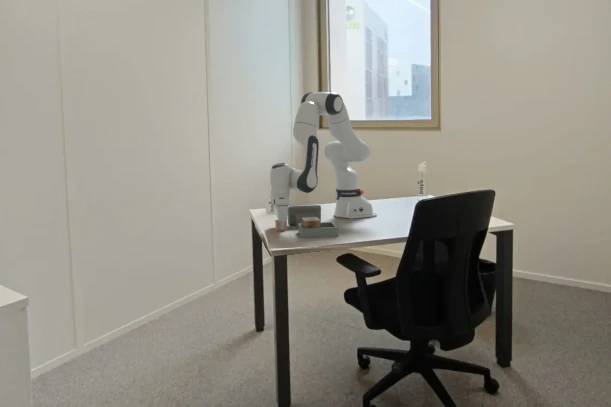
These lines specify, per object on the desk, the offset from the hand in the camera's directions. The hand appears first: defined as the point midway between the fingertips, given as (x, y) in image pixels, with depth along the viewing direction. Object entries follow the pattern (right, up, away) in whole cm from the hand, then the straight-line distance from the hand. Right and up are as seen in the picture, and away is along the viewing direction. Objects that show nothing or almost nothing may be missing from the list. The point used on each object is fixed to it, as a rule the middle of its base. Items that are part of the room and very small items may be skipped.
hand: (281, 227), depth 265 cm
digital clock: (+11, 0, +10) cm, 15 cm away
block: (+14, -2, -12) cm, 18 cm away
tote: (+17, -3, -11) cm, 21 cm away
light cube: (0, -2, 0) cm, 2 cm away
